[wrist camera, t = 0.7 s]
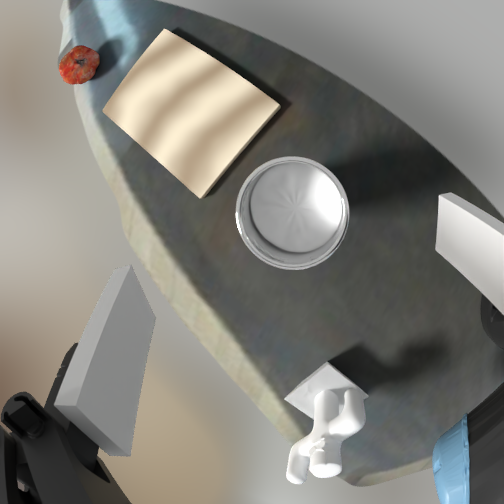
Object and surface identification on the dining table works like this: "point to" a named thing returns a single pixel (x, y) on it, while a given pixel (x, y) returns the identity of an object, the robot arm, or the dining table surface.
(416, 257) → the dining table surface
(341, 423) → the figurine
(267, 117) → the birch board
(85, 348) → the robot arm
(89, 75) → the pomegranate
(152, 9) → the dining table surface
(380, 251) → the dining table surface
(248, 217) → the beer glass
